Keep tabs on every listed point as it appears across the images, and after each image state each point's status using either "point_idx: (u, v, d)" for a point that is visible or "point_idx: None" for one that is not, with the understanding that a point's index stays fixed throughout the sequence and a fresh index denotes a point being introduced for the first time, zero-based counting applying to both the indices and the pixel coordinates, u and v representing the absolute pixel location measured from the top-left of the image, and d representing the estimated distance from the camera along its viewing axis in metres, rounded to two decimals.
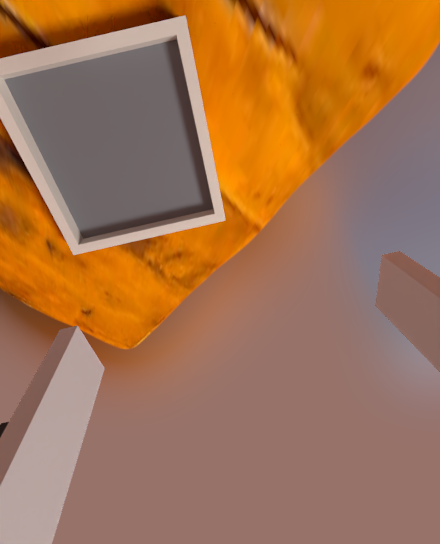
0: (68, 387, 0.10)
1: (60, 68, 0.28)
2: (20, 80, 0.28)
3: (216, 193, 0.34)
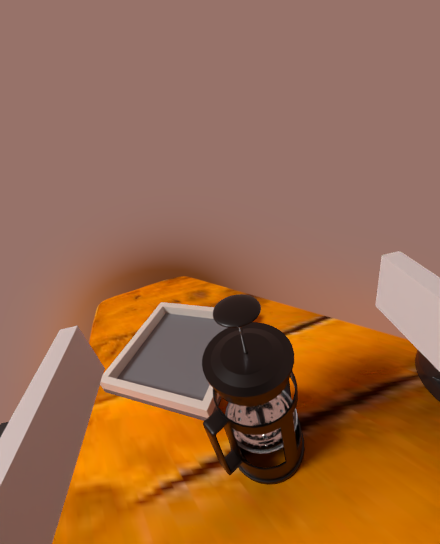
0: (68, 387, 0.10)
1: None
2: None
3: (116, 383, 0.45)
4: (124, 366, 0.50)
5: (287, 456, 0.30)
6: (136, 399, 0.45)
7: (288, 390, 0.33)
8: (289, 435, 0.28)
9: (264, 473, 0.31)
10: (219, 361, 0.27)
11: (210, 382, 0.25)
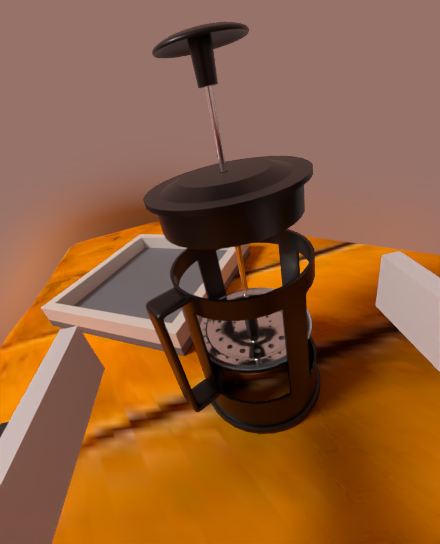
0: (68, 387, 0.10)
1: None
2: None
3: (63, 308, 0.33)
4: (81, 297, 0.39)
5: (293, 382, 0.18)
6: (88, 331, 0.33)
7: None
8: (298, 337, 0.16)
9: (253, 413, 0.19)
10: (174, 185, 0.15)
11: (150, 206, 0.13)
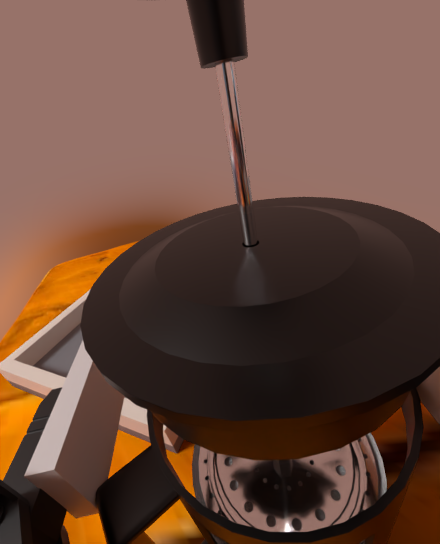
0: None
1: None
2: None
3: (21, 371, 0.26)
4: (51, 346, 0.31)
5: None
6: None
7: None
8: (384, 541, 0.09)
9: None
10: (149, 272, 0.07)
11: (88, 341, 0.06)
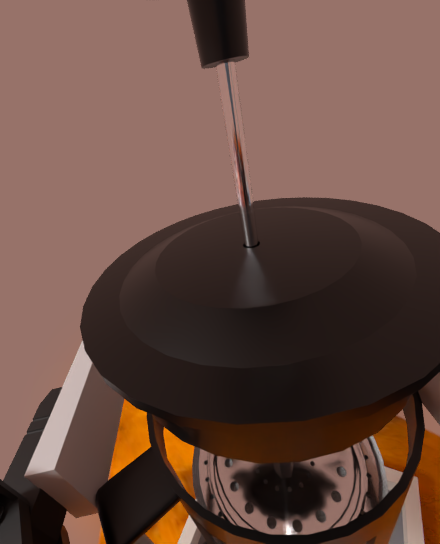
0: None
1: None
2: None
3: None
4: None
5: None
6: None
7: None
8: (385, 543, 0.09)
9: None
10: (150, 273, 0.07)
11: (88, 343, 0.06)
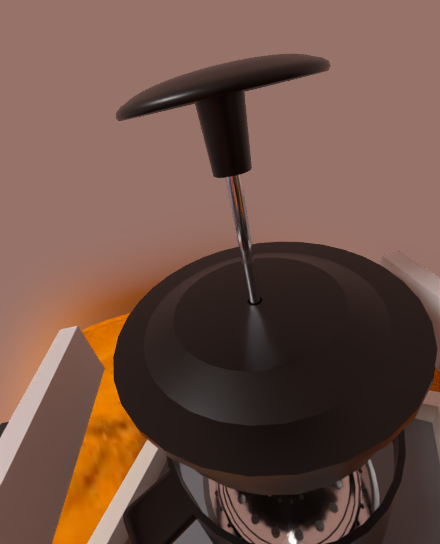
0: (68, 387, 0.10)
1: None
2: (429, 441, 0.19)
3: None
4: None
5: None
6: None
7: None
8: None
9: None
10: (169, 327, 0.08)
11: (123, 396, 0.07)
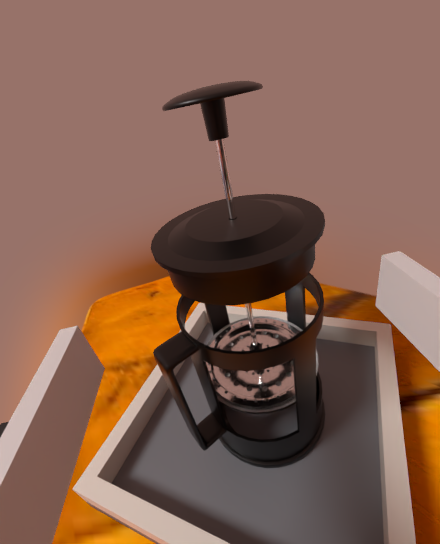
0: (68, 387, 0.10)
1: (374, 400, 0.22)
2: (370, 357, 0.26)
3: (116, 502, 0.18)
4: (135, 440, 0.23)
5: (301, 420, 0.18)
6: None
7: (302, 321, 0.21)
8: (307, 380, 0.16)
9: (261, 449, 0.19)
10: (182, 232, 0.14)
11: (160, 260, 0.13)
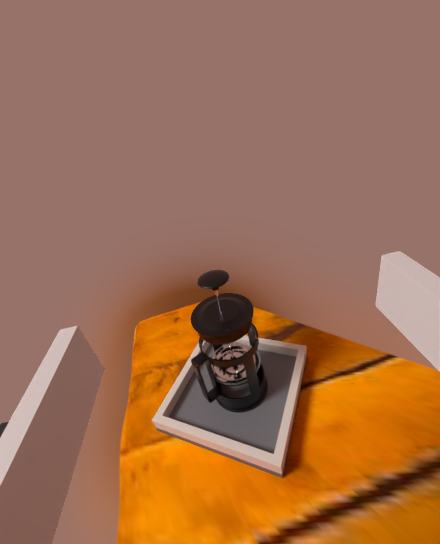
0: (68, 387, 0.10)
1: None
2: (295, 363, 0.50)
3: (172, 424, 0.42)
4: (176, 402, 0.47)
5: (251, 389, 0.42)
6: (194, 443, 0.42)
7: None
8: (251, 371, 0.40)
9: (235, 403, 0.43)
10: (202, 316, 0.39)
11: (195, 328, 0.37)
